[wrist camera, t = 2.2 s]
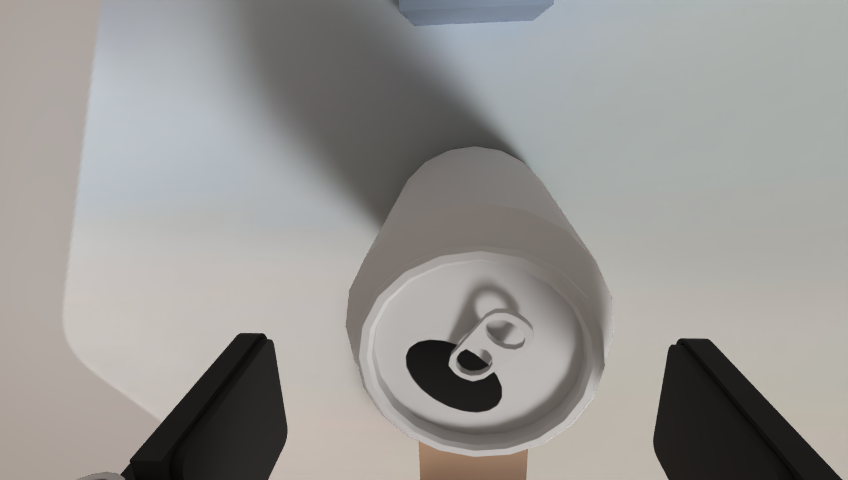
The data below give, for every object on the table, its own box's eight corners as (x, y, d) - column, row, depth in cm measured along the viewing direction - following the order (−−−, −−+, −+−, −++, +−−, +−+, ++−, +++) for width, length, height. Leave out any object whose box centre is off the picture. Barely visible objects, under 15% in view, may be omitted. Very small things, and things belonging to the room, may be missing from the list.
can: (368, 234, 23) (276, 385, 12) (456, 110, 21) (445, 154, 10) (485, 314, 24) (501, 523, 13) (583, 205, 22) (706, 346, 11)
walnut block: (427, 368, 26) (418, 434, 21) (517, 371, 25) (528, 438, 21) (429, 438, 28) (421, 513, 23) (513, 442, 27) (523, 519, 22)
